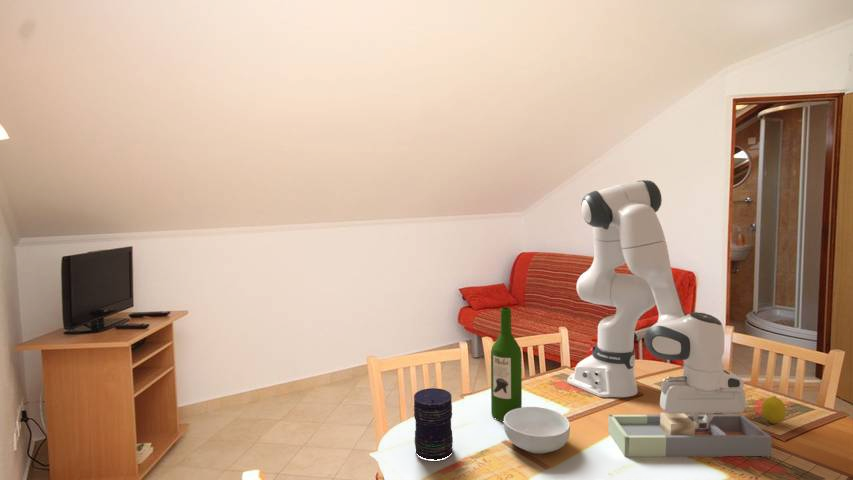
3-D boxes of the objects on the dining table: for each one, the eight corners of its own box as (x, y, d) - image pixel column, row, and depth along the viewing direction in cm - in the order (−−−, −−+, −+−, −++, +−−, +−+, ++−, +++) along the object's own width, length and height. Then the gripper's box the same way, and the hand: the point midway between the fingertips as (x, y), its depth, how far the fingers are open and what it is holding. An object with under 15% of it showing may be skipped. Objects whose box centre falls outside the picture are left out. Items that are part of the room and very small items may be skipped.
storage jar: (416, 441, 128) (414, 388, 127) (452, 441, 128) (451, 387, 126) (413, 462, 118) (412, 404, 117) (453, 462, 118) (452, 404, 117)
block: (670, 438, 121) (670, 423, 121) (659, 427, 127) (660, 412, 126) (694, 438, 121) (695, 423, 120) (682, 427, 127) (683, 412, 126)
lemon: (789, 429, 130) (790, 401, 129) (766, 427, 131) (768, 399, 130) (778, 419, 135) (780, 392, 135) (757, 418, 137) (758, 391, 136)
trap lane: (624, 456, 119) (625, 437, 118) (608, 432, 131) (608, 414, 130) (770, 456, 117) (772, 437, 117) (740, 431, 129) (741, 414, 129)
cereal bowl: (581, 444, 125) (581, 418, 124) (550, 472, 113) (550, 443, 112) (525, 423, 137) (525, 400, 136) (491, 447, 125) (491, 421, 124)
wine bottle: (488, 419, 140) (486, 311, 136) (495, 406, 148) (494, 303, 144) (518, 424, 136) (518, 313, 133) (524, 410, 144) (524, 305, 141)
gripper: (667, 381, 119) (665, 434, 121) (750, 381, 119) (748, 433, 120) (656, 372, 126) (654, 422, 127) (735, 371, 125) (732, 421, 126)
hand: (700, 427), depth 124 cm, fingers closed
